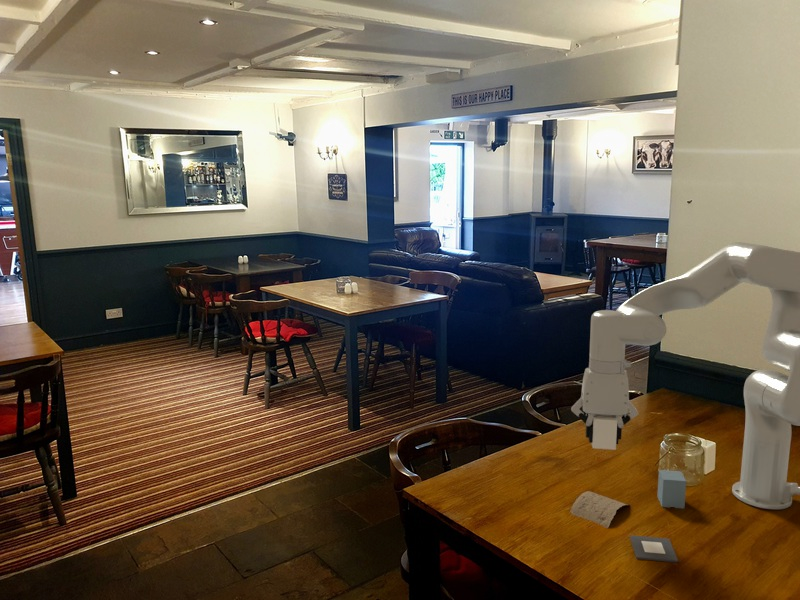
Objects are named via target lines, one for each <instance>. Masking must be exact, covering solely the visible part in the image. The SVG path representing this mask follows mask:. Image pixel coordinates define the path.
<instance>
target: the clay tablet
mask: <svg viewBox="0 0 800 600" xmlns="http://www.w3.org/2000/svg"><path fill="white" fill-rule="evenodd" d="M624 506H628V504H626V503H623V502H621V501H618V500H615V499H612V498H610V497H607V496H604V495H601V494H598V493H596V492H593V491H590V490H588V491H585V492H583V493H581V494H580V495H579V496H578V497H577V498H576V499H575V501H574V502H573V504H572V506H571V508H570V510H569V513H570V512H571V513H572V514H573V515H572V514H571V513H570V514H571V515H572V516H575V515H576V516H575V517H578V518H580V517H582V518H581V519H583V518H584V519H583V520H585V519H587V520H586V521H588V520H590V521H589V522H591V521H593V522H595V523H594V524H596V523H598V524H597V525H599V524H600V525H599V526H602V525H603V526H604V527H603V526H602V527H603V528H606V529H608V528H610V525H611V523H612V521H613V519H614V516H615V515H616V513H617V510H619V509H620V508H622V507H624ZM593 522H592V523H593Z"/></svg>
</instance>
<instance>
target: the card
mask: <svg viewBox="0 0 800 600" xmlns="http://www.w3.org/2000/svg"><path fill="white" fill-rule="evenodd" d="M629 539H630V542H631V545H632V548H633V552H634V554H635V555H634V556H635V559H638V560H648V561H659V562H669V563H678V562H679V559H678V557H677V555H676V552H675V549H674V547H673V545H672V542H671V540H670V538H668V537H667V538H666V537H665V538H664V537H655V536H641V535H633V534H632V535H629Z"/></svg>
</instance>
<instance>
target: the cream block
mask: <svg viewBox="0 0 800 600" xmlns="http://www.w3.org/2000/svg"><path fill="white" fill-rule="evenodd" d="M592 425H593V442H592V443H591V447H592V449H600V450H614V451H615V450H617V444H616V436H617V418H616V416H615V415H594V417H593V421H592Z"/></svg>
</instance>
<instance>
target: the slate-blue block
mask: <svg viewBox="0 0 800 600" xmlns="http://www.w3.org/2000/svg"><path fill="white" fill-rule="evenodd" d="M657 480H658V482H657V495H656V496H657V499H658V502H659V501H660V502H659V504H660V506H661V507H662V508H670V507H675V508H674V509H685V506H686V503H685V502H686V491H687V490H686V489H687V480H686V478H685V477H684V474H683V473H682V471H680V470H668V469H667V470H665V469H659V470H658V479H657Z"/></svg>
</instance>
